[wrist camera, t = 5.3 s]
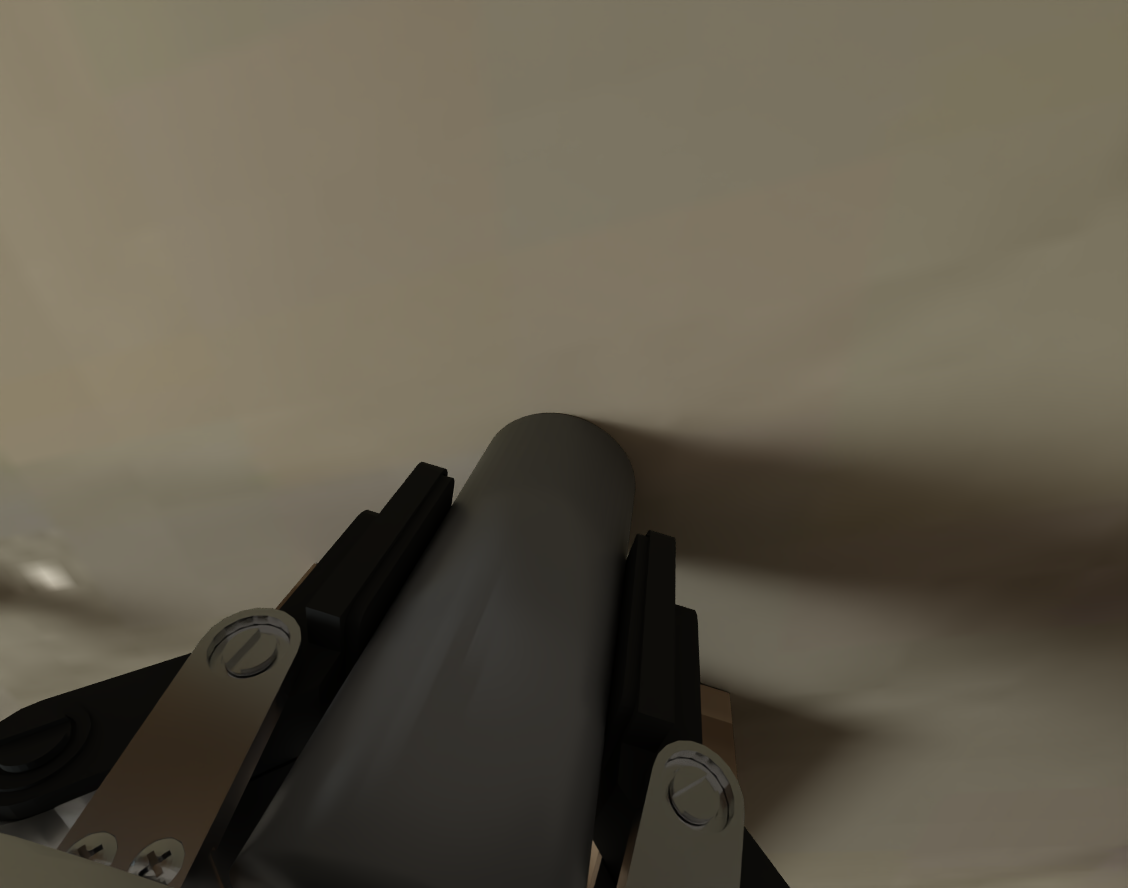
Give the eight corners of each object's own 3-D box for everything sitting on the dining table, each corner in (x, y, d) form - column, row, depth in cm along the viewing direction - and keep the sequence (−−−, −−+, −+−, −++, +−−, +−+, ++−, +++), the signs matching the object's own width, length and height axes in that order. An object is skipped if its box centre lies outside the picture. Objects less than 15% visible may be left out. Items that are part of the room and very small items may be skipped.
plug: (656, 440, 12) (620, 948, 5) (611, 558, 14) (535, 1036, 7) (495, 393, 12) (201, 805, 5) (474, 516, 14) (251, 935, 7)
